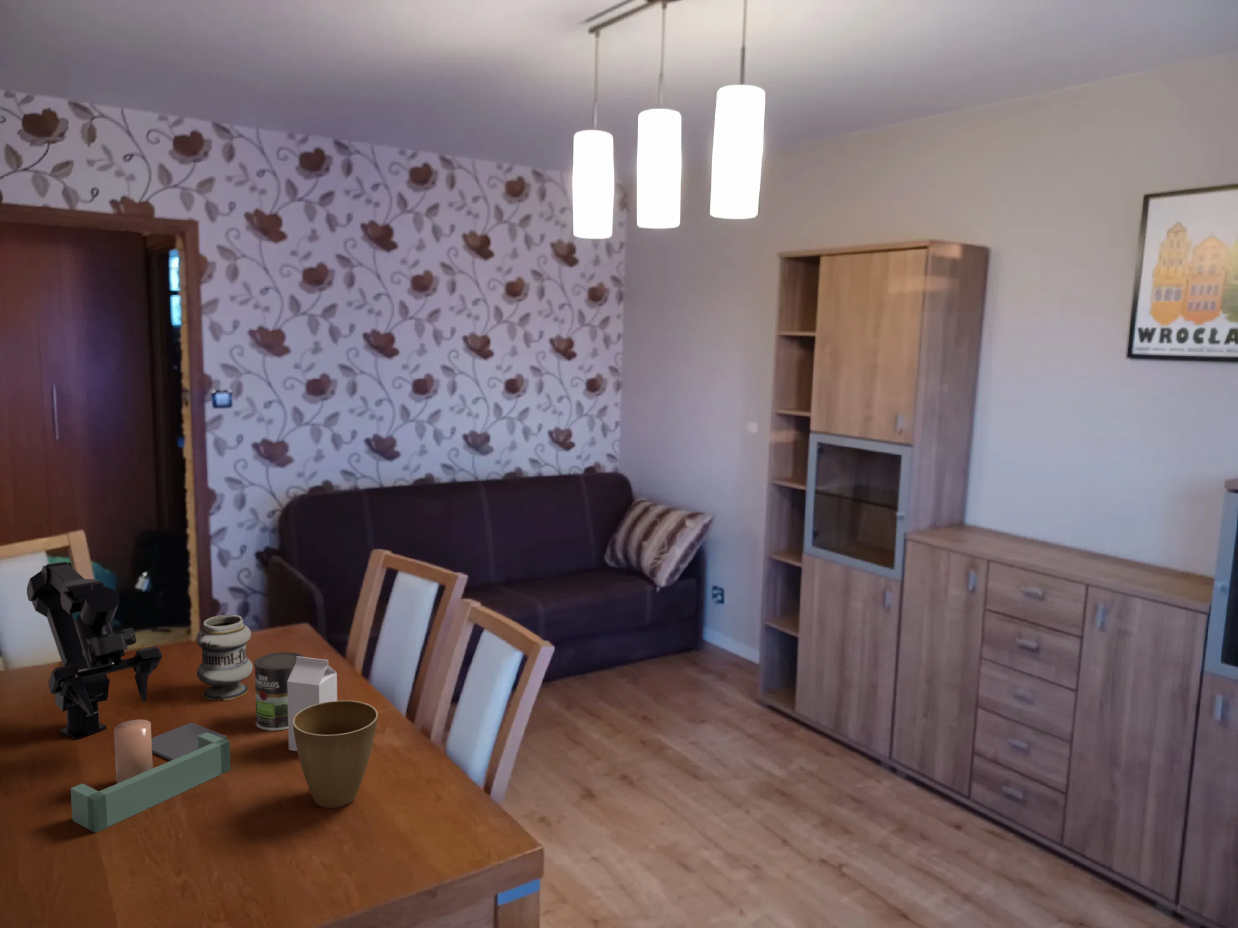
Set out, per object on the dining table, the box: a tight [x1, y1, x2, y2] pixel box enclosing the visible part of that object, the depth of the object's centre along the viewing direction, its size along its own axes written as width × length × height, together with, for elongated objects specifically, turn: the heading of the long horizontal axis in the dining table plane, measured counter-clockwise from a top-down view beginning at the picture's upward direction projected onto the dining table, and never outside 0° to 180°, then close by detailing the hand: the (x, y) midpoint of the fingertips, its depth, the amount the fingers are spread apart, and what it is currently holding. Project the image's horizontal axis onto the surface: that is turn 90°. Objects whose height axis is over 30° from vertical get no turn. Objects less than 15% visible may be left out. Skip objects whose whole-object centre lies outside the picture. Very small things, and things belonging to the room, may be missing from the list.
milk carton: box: [287, 656, 338, 752], centre depth 179 cm, size 7×7×19 cm
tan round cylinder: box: [113, 719, 154, 784], centre depth 162 cm, size 6×6×12 cm
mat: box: [151, 722, 228, 761], centre depth 180 cm, size 12×12×1 cm
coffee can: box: [253, 651, 305, 732], centre depth 190 cm, size 10×10×14 cm
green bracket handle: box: [70, 732, 231, 834], centre depth 159 cm, size 7×26×6 cm, turn 150°
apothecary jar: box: [195, 614, 254, 702], centre depth 204 cm, size 12×12×18 cm
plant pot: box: [292, 700, 379, 809], centre depth 159 cm, size 15×15×16 cm
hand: (118, 707), depth 166 cm, fingers open, 9 cm apart
